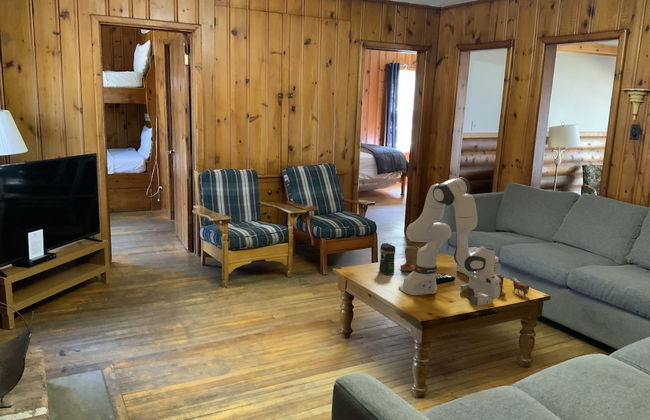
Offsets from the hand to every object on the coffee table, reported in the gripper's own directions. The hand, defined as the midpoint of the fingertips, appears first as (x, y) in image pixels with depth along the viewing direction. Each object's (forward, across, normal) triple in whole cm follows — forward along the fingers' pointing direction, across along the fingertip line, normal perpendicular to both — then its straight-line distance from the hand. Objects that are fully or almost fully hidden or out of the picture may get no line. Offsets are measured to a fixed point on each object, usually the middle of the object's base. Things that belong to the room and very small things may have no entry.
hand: (482, 300), depth 294 cm
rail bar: (+2, 0, 0) cm, 2 cm away
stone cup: (+2, -63, 0) cm, 63 cm away
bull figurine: (+2, -2, +30) cm, 31 cm away
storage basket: (+2, -38, +31) cm, 49 cm away
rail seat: (+2, -10, +10) cm, 14 cm away
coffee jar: (+2, -64, -18) cm, 66 cm away
